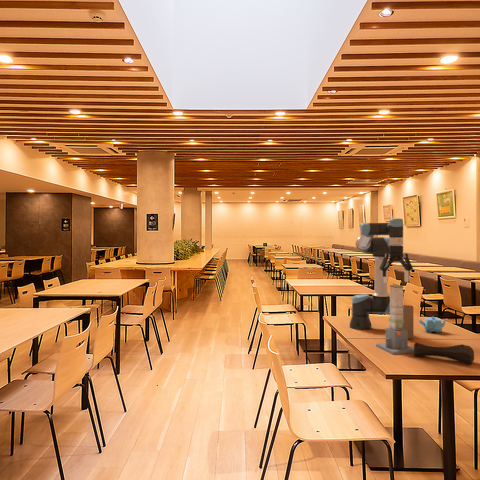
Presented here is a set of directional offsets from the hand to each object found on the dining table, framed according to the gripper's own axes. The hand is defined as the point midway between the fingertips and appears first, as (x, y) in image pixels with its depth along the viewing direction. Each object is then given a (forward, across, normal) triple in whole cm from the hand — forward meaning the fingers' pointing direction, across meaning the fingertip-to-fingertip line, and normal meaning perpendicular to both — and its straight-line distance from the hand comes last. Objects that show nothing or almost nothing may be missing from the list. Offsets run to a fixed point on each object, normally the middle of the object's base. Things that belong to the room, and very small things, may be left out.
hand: (396, 282), depth 214 cm
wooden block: (+39, +22, +22) cm, 50 cm away
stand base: (+39, 0, 0) cm, 39 cm away
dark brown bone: (+39, +12, -22) cm, 47 cm away
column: (+29, 0, 0) cm, 29 cm away
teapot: (+39, +50, +30) cm, 70 cm away
